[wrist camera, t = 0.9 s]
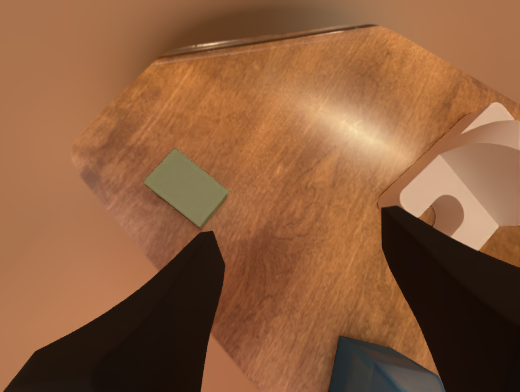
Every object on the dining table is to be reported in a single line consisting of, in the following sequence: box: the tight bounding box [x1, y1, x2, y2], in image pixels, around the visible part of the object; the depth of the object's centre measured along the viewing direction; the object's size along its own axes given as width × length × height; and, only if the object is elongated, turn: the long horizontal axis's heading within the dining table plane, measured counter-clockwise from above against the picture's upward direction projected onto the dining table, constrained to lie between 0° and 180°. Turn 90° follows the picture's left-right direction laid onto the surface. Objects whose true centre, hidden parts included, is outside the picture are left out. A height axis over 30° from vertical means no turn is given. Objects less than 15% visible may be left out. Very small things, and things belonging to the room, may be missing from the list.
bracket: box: [378, 102, 520, 251], centre depth 29 cm, size 19×10×11 cm, turn 130°
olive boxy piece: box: [143, 148, 229, 229], centre depth 26 cm, size 4×6×5 cm, turn 52°
